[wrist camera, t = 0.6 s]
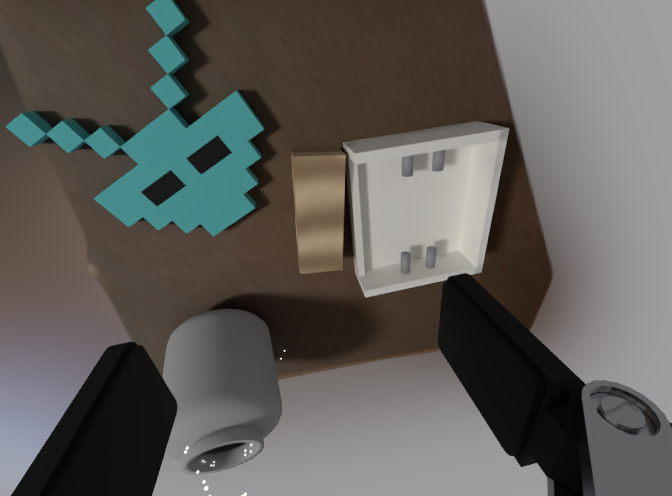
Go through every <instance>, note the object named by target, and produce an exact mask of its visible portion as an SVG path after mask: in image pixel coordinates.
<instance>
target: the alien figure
mask: <svg viewBox="0 0 672 496" xmlns="http://www.w3.org/2000/svg"><path fill="white" fill-rule="evenodd" d="M146 9H147V10H148V12H149V13H150V14H151V16H152V17H153V18H154V20H155V21H156V22H157V23H158V25H159V26H160V27H161V29H162V30H163V31H164V33H165V34H166V36H165V37H164V38H162V39H161V40H160V41H159V42H158V43H156V44H155V45H154V46H153V47H151V48H150V49H149V50H148V51H149V52H150V53H151V54H152V56H153V57H154V58H155V59H156V60H157V62H158V63H159V64H160V65H161V66H162V68H163V69H164V70H165V71H166V73H167V75H166V76H165V77H163V78H162V79H161V80H160V81H158V82H157V83H156V84H155V85H153V86H152V87H151V89H152V90H153V92H154V93H155V94H156V95H157V96H158V97H159V98H160V100H161V101H162V102H163V103H164V104H165V105H166V106H167V108H168V110H167V111H166V112H164V113H163V114H162V115H161V116H159V117H158V118H157V119H155V120H154V121H153V122H152V123H150V124H149V125H148V126H146V127H145V128H144V129H142V130H141V131H140V132H139V133H137V134H136V135H135V136H133V137H132V138H131V139H130V140H128V141H127V142H125V141H124V140H123V139H122V138H121V137H120V136H119V135H118V134H117V133H116V132H115V131H114V130H113V129H112V128H111V127H110V126H109V125H107V126H104V127H101V128H99V129H98V130H97V131H96V132H94V133H93V134H92V135H90V134H89V133H88V132H86V131H85V130H84V129H83V128H82V127H81V126H80V125H79V124H78V123H77V122H76V121H75V120H74V119H67V120H63V121H61V122H60V123H59V124H57V125H56V126H55V127H54V128H53V127H52V126H51V125H49V124H48V123H47V122H46V121H45V120H44V119H43V118H42V117H40V116H39V115H38V114H37V113H36V112H35V111H31V112H25V113H21V114H20V115H19V116H18V117H16V118H15V119H14V120H13V121H12V122H11V123H9V124H8V125H7V126H6V128H7V129H9V130H10V131H11V132H12V133H13V134H15V135H16V136H17V137H19V138H20V139H21V140H22V141H23V142H25V143H26V144H27V145H28V146H29V147H32V146H35V145H38V144H41V143H43V142H44V141H45V140H46V139H48V138H49V137H50V138H51V139H52V140H53V141H55V142H56V143H57V144H58V145H59V146H60V147H62V148H63V149H64V150H65V151H66V152H67V153H70V152H72V151H75V150H77V149H79V148H80V147H81V146H83V145H84V144H85V143H87V144H88V145H89V146H90V147H92V148H93V149H94V150H95V151H96V152H97V153H98V154H99V155H100V156H102V157H103V158H104V159H105V158H107V157H109V156H111V155H113V154H114V153H115V152H117V151H118V150H119V149H120V148H122V149H123V150H124V151H125V152H126V153H127V154H128V155H129V156H130V157H131V158H132V159H133V160H134V161H135V162H136V163H137V164H138V165H137V166H136V167H135V168H133V169H132V170H131V171H129V172H128V173H127V174H125V175H124V176H123V177H121V178H120V179H119V180H117V181H116V182H115V183H113V184H112V185H111V186H109V187H108V188H107V189H106V190H104V191H103V192H102V193H100V194H99V195H98V196H96V197H95V198H94V199H95V200H96V201H97V202H98V203H100V204H101V205H102V206H103V207H104V208H106V209H107V210H108V211H109V212H111V213H112V214H113V215H114V216H116V217H117V218H118V219H119V220H120V221H122V222H123V223H124V224H125V225H127V226H128V227H130V226H131V225H133V224H134V223H135V222H137V221H138V220H140V219H141V218H142V217H143V218H144V219H146V220H147V221H148V222H149V223H150V224H151V225H153V226H154V227H155V228H156V229H157V230H160V229H161V228H163V227H164V226H165V225H167V224H168V223H170V222H171V221H173V222H174V223H175V224H177V225H178V226H179V227H180V228H181V229H182V230H183V231H184V232H185V233H186V234H187V233H188V232H190V231H191V230H193V229H194V228H195V227H197V226H198V225H200V224H201V225H202V226H203V227H204V228H205V229H206V230H207V231H208V232H209V233H210V234H211V235H212V236H213V237H214V236H215V235H217V234H218V233H219V232H221V231H222V230H224V229H225V228H227V227H228V226H230V225H231V224H233V223H234V222H236V221H237V220H238V219H240V218H241V217H243V216H244V215H246V214H247V213H249V212H250V211H252V210H253V209H255V205H256V202H255V201H254V200H253V199H252V198H251V197H250V196H249V194H248V193H247V191H249V190H250V189H252V188H253V187H254V186H256V185H257V184H258V178H257V177H256V176H255V175H254V174H253V172H252V171H251V170H250V169H249V166H250V165H252V164H253V163H254V162H256V161H257V160H259V159H260V158H261V153H260V152H259V151H258V149H257V148H256V147H255V146H254V144H253V143H252V142H251V140H250V139H252V138H253V137H254V136H256V135H257V134H258V133H260V132H261V131H263V130H264V126H263V125H262V123H261V122H260V120H259V119H258V118H257V116H256V115H255V113H254V112H253V110H252V109H251V108H250V106H249V105H248V103H247V102H246V101H245V99H244V98H243V96H242V95H241V94H240V92H239V91H238V90H237V91H235V92H234V93H233V94H231V95H230V96H229V97H227V98H226V99H225V100H223V101H222V102H221V103H219V104H218V105H217V106H215V107H214V108H213V109H211V110H210V111H209V112H207V113H206V114H205V115H203V116H202V117H201V118H199V119H198V120H197V121H195V122H194V123H193V124H192V125H190V126H189V125H188V123H187V122H186V121H185V120H184V119H183V118H182V117H181V115H180V114H179V113H178V112H177V111H176V110H175V108H174V107H175V106H176V105H177V104H179V103H180V102H181V101H182V100H184V99H185V98H186V97H188V96H189V93H188V92H187V91H186V90H185V88H184V87H183V86H182V85H181V83H180V82H179V81H178V80H177V78H176V77H175V76H174V75H173V73H175V72H176V71H177V70H178V69H180V68H181V67H182V66H183V65H185V64H186V63H187V62H188V61H190V60H189V59H188V58H187V56H186V55H185V54H184V52H183V51H182V50H181V48H180V47H179V46H178V44H177V43H176V42H175V40H174V39H173V38H172V37H173V36H174V35H175V34H176V33H178V32H179V31H180V30H181V29H182V28H184V27H185V26H186V25H187V24H189V23H190V22H189V21H188V19H187V18H186V17H185V15H184V14H183V12H182V11H181V10H180V8H179V7H178V5H177V4H176V3H175V1H174V0H155V1H154V2H152V3H151V4H150V5H149V6H148V7H147V8H146Z"/></svg>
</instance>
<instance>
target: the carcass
mask: <svg viewBox="0 0 672 496" xmlns="http://www.w3.org/2000/svg"><path fill="white" fill-rule="evenodd" d="M508 133H509V128H505V127H501V126H497V125H493V124H489V123H484V122H480V121H474V122H468V123H462V124H455V125H449V126H443V127H436V128H430V129H424V130H417V131H411V132H405V133H398V134H392V135H386V136H379V137H373V138H367V139H360V140H354V141H348V142H343V146H344V154H345V155H346V161H345V168H346V179H347V189H348V200H349V211H350V222H351V233H352V243H353V254H354V265H355V274H356V276H357V279H358V281H359V283H360V286H361V288H362V290H363V293H364V295H365V297H370V296H374V295H379V294H384V293H388V292H393V291H398V290H402V289H407V288H411V287H416V286H421V285H425V284H430V283H435V282H439V281H444V280H447V279H448V277H450V276H454V275H459V274H463V273H468V274H469V275H472V274H476V273H481V272H482V267H483V262H484V257H485V251H486V246H487V241H488V236H489V231H490V226H491V220H492V215H493V210H494V205H495V200H496V195H497V189H498V184H499V179H500V174H501V169H502V164H503V159H504V153H505V148H506V143H507V138H508Z"/></svg>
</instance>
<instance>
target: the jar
mask: <svg viewBox="0 0 672 496" xmlns="http://www.w3.org/2000/svg"><path fill="white" fill-rule="evenodd" d="M284 352H285V350H284ZM280 359H282V358H280ZM163 380H164V381H165V383H166V384H167V386H168V388H169V389H170V391H171V393H172V394H173V396H174V397H175V399H176V401H177V407H178V408H177V414H176V418H175V421H174V424H173V428H172V431H171V434H170V438H169V441H168V444H167V447H166V451H165V454H166V455H168V456H170V457H172V458H175V459H178V460H181V461H182V470H183V472H185V473H189V474H206V473H213V472H217V471H222V470H225V469H229V468H232V467H235V466H237V465H240V464H242V463H244V462H246V461H248V460H250V459H252V458H253V457H255V456H256V455H257V454H259V453H260V452H261V451H262V449H263V447H264V441H263V439H264V438H265V437H266V436H267V435H268V434H269V433H270V432H271V431H272V430H273V429H274V428H275V427H276V425H277V424H278V422H279V419H280V417H281V414H282V403H281V397H280V390H279V385H278V379H277V373H276V367H275V361H274V355H273V350H272V344H271V338H270V333H269V330H268V327H267V325H266V323H265V322H264V321H263V320H262V319H260V318H259V317H257V316H256V315H254V314H252V313H250V312H247V311H243V310H239V309H218V310H212V311H207V312H204V313H201V314H198V315H196V316H193V317H191V318H190V319H188V320H186V321H185V322H183V323H182V324H181V325H180V326H179V327H178V328H177V329H176V330H174V332H173V333H172V334H171V336H170V338H169V341H168V344H167V348H166V355H165V363H164V371H163ZM204 483H205V480H204V481H203V484H204ZM204 489H205V490H208V486H206V487H205V488H204ZM246 494H247V493H245V494H244V495H242V496H246ZM209 496H211V495H209Z"/></svg>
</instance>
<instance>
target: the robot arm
mask: <svg viewBox="0 0 672 496" xmlns="http://www.w3.org/2000/svg"><path fill="white" fill-rule="evenodd" d="M438 344H439V347H440V350H441V352H442V353H443V355H444V356H445V358H446V359H447V361H448V363H449V364H450V366H451V367H452V369H453V370H454V372H455V374H456V375H457V377H458V378H459V380H460V382H461V383H462V385H463V386H464V388H465V389H466V391H467V393H468V394H469V396H470V397H471V399H472V400H473V402H474V404H475V405H476V407H477V408H478V410H479V411H480V413H481V414H482V416H483V418H484V419H485V421H486V422H487V424H488V425H489V427H490V429H491V430H492V432H493V433H494V435H495V436H496V438H497V440H498V441H499V443H500V444H501V446H502V448H503V449H504V450H505V452H506V453H507V454H508V455H510V456H514V457H515V458H516V460H517V462H518V463H519V465H520V466H521V467H523V466H526V465H530V464H534V463H538V465H539V466H540V467H541V469H542V470H543V472H544V473H545V475H546V476H547V483H548V496H672V423H669V421H668V420H667V418H666V416H665V414H664V413H663V412H662V411H661V410H660V409H659V408H658V407H657V406H656V405H655V404H654V403H653V402H652V401H650V400H649V399H648V398H646V397H645V396H644V395H642V394H640V393H639V392H637V391H635V390H633V389H631V388H629V387H627V386H624V385H621V384H618V383H615V382H610V381H605V380H603V381H593V382H590V383H587V384H585V383H584V382H583V381H582V380H581V379H580V378H579V377H577V376H576V375H575V374H574V373H573V372H572V371H571V370H570V369H569V368H568V367H567V366H566V365H565V364H564V363H563V362H561V360H559V359H558V358H557V357H556V356H555V355H554V354H553V353H552V352H551V351H550V350H549V349H548V348H547V347H546V346H545V345H544V344H542V343H541V341H539V340H538V339H537V338H536V337H535V336H534V335H533V334H532V333H531V332H530V331H529V330H528V329H527V328H526V327H525V326H524V325H523V324H522V323H520V322H519V321H518V320H517V319H516V318H515V317H514V316H513V315H512V314H511V313H510V312H509V311H508V310H506V309H505V308H504V307H503V306H502V305H501V304H500V303H499V302H498V301H497V300H496V299H495V298H494V297H493V296H492V295H491V294H490V293H489V292H487V291H486V290H485V289H484V288H483V287H482V286H481V285H480V284H479V283H478V282H477V281H476V280H475V279H474V278H473V277H472V276H471V275H469V274H468V273H463V274H459V275H454V276H450V277H448V279H447V282H444V283H443V289H442V300H441V312H440V323H439V335H438ZM177 408H178V407H177V401H176V399H175V397H174V396H173V394H172V393H171V391H170V389H169V388H168V386H167V384H166V383H165V381H164V380H163V378H162V376H161V375H160V373H159V371H158V370H157V368H156V367H155V365H154V363H153V362H152V360H151V358H150V357H149V355H148V354H147V352H146V350H145V349H144V347H143V346H141V345H137V344H136V343H135V342H128V343H123V344H118V345H113V346H110V347H108V348H107V349H106V350H105V352H104V353H103V355H102V357H101V358H100V360H99V361H98V363H97V364H96V366H95V367H94V369H93V370H92V372H91V373H90V375H89V376H88V378H87V380H86V381H85V383H84V384H83V386H82V387H81V389H80V390H79V392H78V393H77V395H76V397H75V398H74V400H73V401H72V403H71V404H70V406H69V407H68V409H67V410H66V412H65V413H64V415H63V417H62V418H61V420H60V421H59V423H58V425H57V426H56V427H55V429H54V430H53V432H52V433H51V435H50V436H49V438H48V439H47V441H46V443H45V444H44V446H43V447H42V449H41V450H40V452H39V453H38V455H37V456H36V458H35V460H34V461H33V463H32V464H31V466H30V467H29V469H28V470H27V472H26V473H25V475H24V476H23V478H22V479H21V481H20V483H19V484H18V486H17V487H16V489H15V490H14V492H13V493H12V495H11V496H152V494H153V490H154V487H155V484H156V481H157V477H158V474H159V471H160V467H161V464H162V460H163V457H164V454H165V451H166V447H167V444H168V441H169V438H170V434H171V431H172V428H173V424H174V421H175V418H176V414H177Z"/></svg>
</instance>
